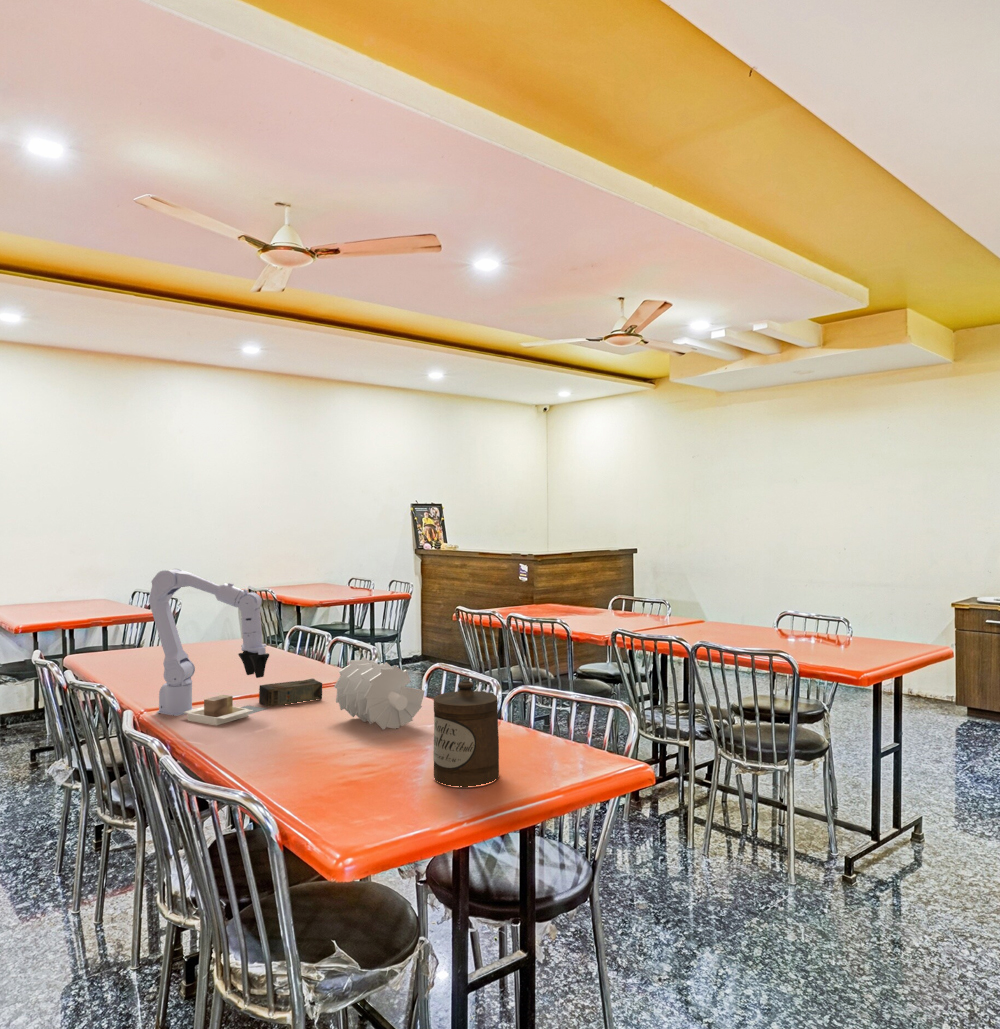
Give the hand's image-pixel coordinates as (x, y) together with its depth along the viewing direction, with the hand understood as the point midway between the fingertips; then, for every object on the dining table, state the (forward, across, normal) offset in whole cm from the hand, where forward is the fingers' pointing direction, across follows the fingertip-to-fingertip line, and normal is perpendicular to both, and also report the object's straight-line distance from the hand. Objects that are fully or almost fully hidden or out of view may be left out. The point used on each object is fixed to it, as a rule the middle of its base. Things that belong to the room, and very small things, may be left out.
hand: (255, 675), depth 229 cm
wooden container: (+16, -90, -13) cm, 92 cm away
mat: (+11, +2, +2) cm, 11 cm away
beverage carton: (+12, +6, -14) cm, 19 cm away
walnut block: (+10, -2, +12) cm, 16 cm away
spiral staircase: (+14, -35, -22) cm, 44 cm away
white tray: (+10, -2, +12) cm, 16 cm away
